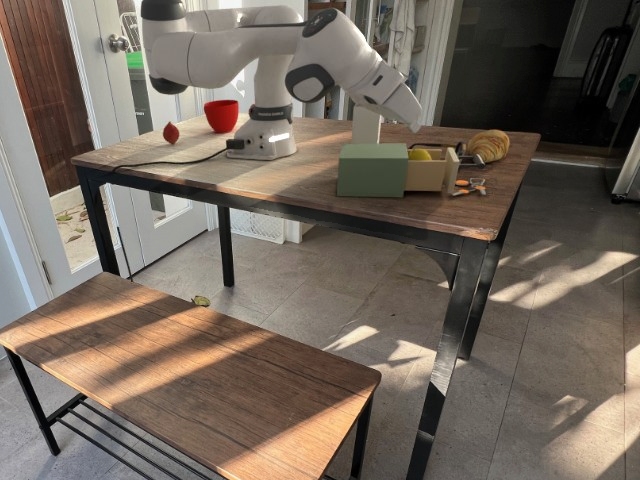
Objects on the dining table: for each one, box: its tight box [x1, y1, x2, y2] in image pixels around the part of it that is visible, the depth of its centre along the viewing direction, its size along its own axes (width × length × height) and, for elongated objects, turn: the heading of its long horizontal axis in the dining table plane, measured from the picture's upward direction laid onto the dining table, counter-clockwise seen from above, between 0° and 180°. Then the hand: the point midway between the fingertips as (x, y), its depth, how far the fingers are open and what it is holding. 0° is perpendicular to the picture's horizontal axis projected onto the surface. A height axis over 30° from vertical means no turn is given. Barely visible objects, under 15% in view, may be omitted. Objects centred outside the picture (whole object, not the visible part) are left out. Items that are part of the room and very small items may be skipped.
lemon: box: [408, 148, 432, 160], centre depth 101 cm, size 6×6×8 cm
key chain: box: [451, 177, 487, 197], centre depth 102 cm, size 13×7×1 cm, turn 151°
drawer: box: [404, 148, 486, 195], centre depth 102 cm, size 20×11×7 cm, turn 75°
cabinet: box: [336, 142, 408, 198], centre depth 105 cm, size 15×12×9 cm
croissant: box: [467, 129, 510, 164], centre depth 120 cm, size 21×10×8 cm, turn 143°
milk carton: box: [350, 104, 382, 144], centre depth 121 cm, size 7×7×19 cm
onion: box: [162, 121, 180, 146], centre depth 155 cm, size 6×6×8 cm
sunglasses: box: [407, 140, 467, 164], centre depth 118 cm, size 14×15×5 cm
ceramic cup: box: [203, 99, 240, 134], centre depth 167 cm, size 13×17×10 cm
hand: (404, 125), depth 96 cm, fingers open, 8 cm apart
